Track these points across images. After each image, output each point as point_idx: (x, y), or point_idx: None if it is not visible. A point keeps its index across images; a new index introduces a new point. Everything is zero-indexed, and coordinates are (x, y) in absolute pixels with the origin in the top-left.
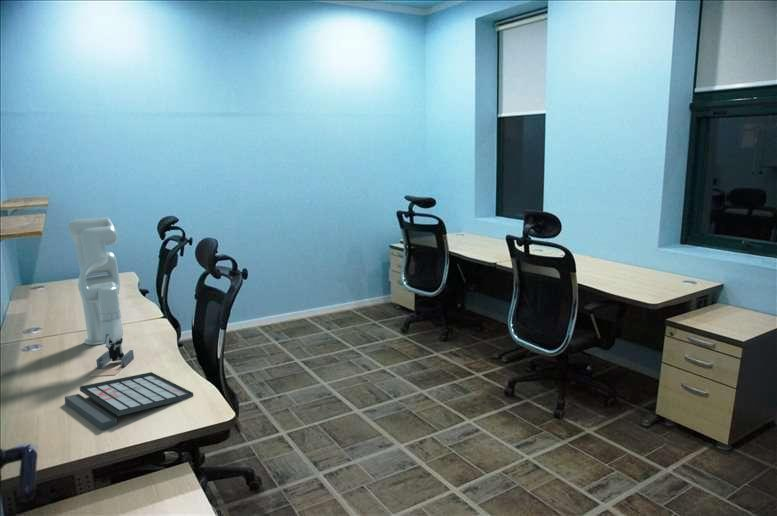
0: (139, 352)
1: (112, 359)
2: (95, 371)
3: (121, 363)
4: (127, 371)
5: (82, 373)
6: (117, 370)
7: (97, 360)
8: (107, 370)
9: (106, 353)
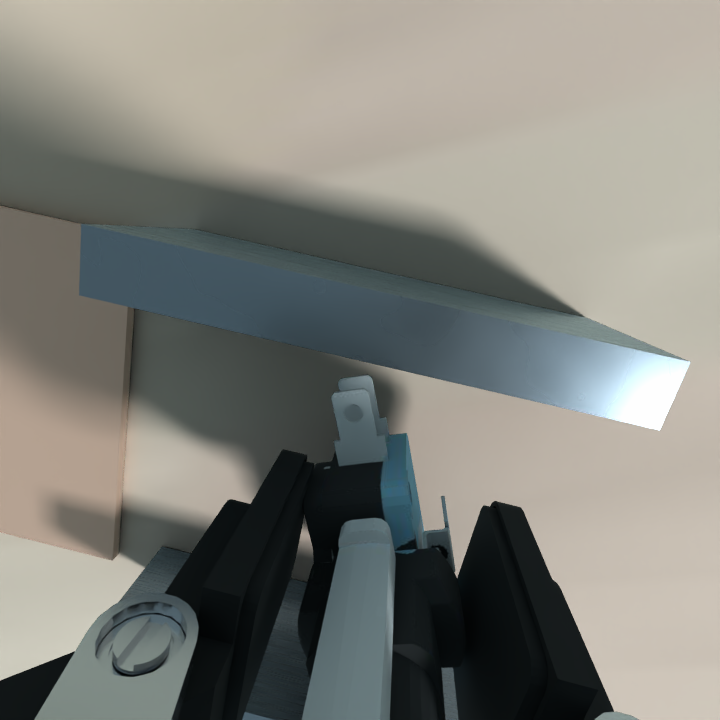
0: (709, 699)
1: (336, 460)
2: (55, 230)
3: (128, 595)
4: (28, 611)
5: (46, 4)
6: (42, 520)
7: (93, 251)
8: (63, 400)
9: (494, 382)
